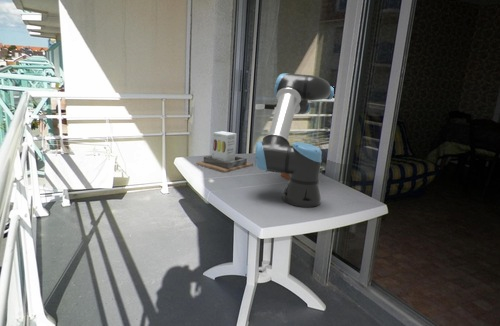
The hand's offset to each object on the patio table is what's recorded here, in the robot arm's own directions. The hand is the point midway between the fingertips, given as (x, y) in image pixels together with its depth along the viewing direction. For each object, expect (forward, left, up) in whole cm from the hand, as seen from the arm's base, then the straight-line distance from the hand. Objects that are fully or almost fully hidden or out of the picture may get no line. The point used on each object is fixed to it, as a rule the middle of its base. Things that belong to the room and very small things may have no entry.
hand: (265, 108), depth 182 cm
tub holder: (-13, +15, -32) cm, 37 cm away
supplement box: (-14, +15, -31) cm, 37 cm away
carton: (-1, -24, -33) cm, 41 cm away
